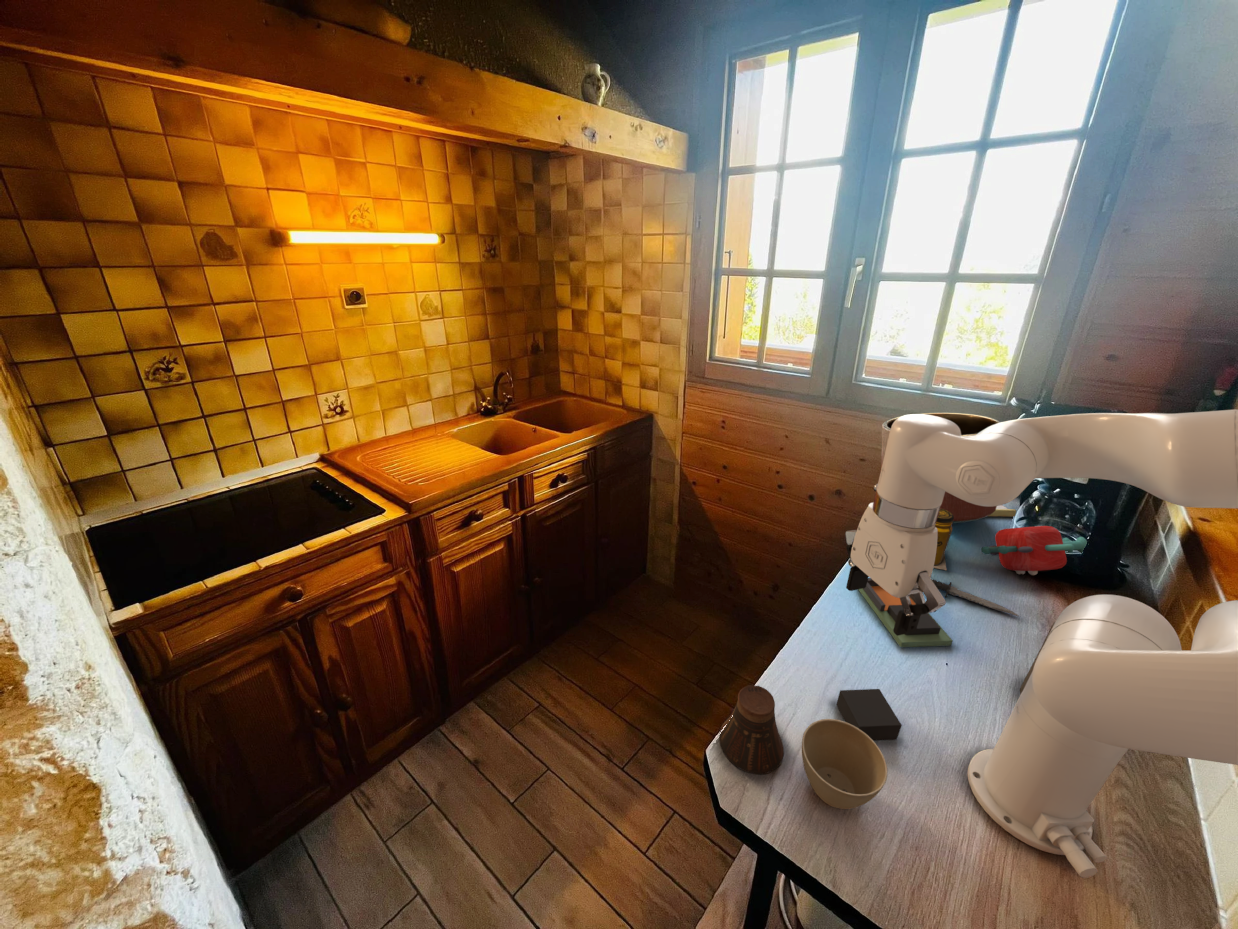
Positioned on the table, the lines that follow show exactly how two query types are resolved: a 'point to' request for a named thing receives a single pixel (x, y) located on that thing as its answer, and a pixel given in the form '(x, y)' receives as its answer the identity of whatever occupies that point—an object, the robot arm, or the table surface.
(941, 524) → the condiment
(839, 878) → the table surface
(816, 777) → the beige bowl
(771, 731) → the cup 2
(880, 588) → the dock
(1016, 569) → the toy
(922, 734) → the table surface
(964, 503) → the planter
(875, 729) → the loose pad
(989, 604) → the knife
